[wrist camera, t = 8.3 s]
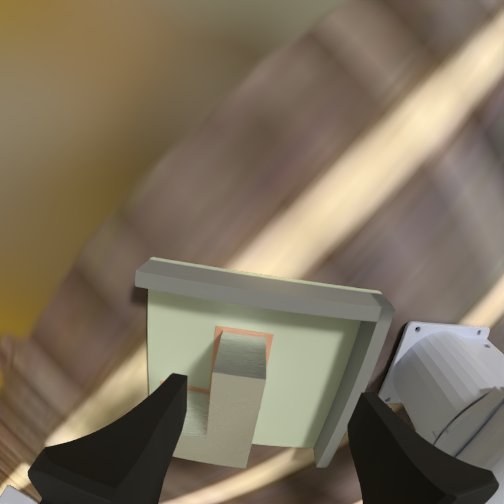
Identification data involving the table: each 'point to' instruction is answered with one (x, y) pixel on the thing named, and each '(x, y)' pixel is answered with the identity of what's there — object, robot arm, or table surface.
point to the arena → (269, 343)
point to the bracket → (226, 404)
